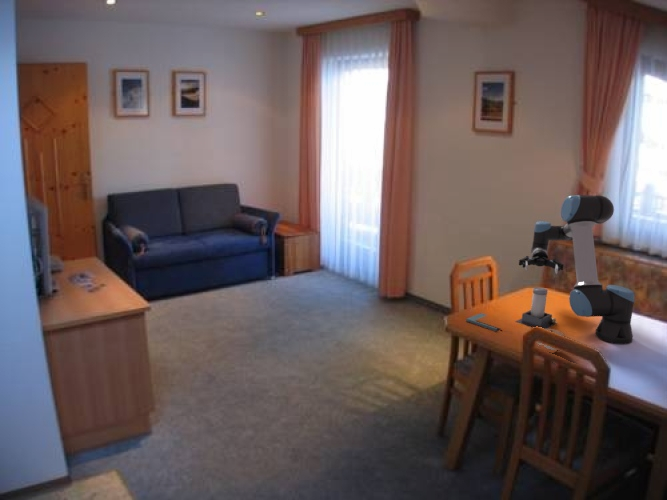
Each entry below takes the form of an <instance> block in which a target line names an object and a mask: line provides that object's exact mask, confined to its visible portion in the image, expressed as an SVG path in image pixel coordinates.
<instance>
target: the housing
mask: <svg viewBox="0 0 667 500" xmlns="http://www.w3.org/2000/svg"><path fill="white" fill-rule="evenodd" d="M530 314H531V309H530V310H528V311H525V312H523V313H522V316H521V318H519V319H517V320H516V321H514V322H515V323H517V324H521V325H524V326H527V327H530V328H533V327H536V326H538V327H542V328H544V329H550V328H552V327H553V326H556V325H557V324H558V322H557V318H554V317H553V314H551V313H547V312H545V313H544V317H543V318H538V317H534V316H531V315H530Z"/></svg>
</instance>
